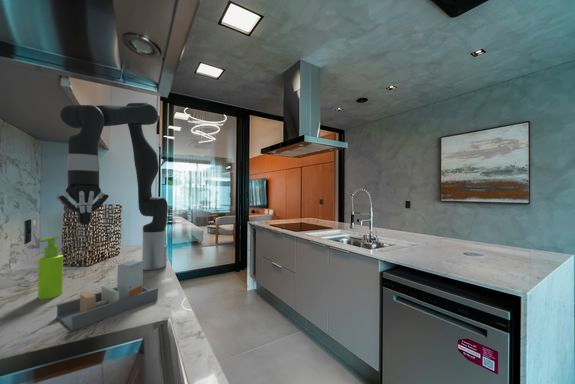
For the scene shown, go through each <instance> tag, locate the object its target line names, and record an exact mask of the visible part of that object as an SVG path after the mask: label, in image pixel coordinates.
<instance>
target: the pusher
mask: <svg viewBox="0 0 575 384" xmlns="http://www.w3.org/2000/svg"><path fill="white" fill-rule="evenodd" d="M113 288H114V287H113ZM113 288H112V287H111V286H109V285H106V284H104V285H101V291H100V292H101V301H100V302H97V303H96V296H95V295H94V294H95V293H92V292H90V291H86V292H83V293H79V298H80V312H81V313H82V312H85V311H88V310H91V309H94V308H97V307H100V306H103V305H106V304H109V303H112V302H115V301H118V300H119V291H117V290H115V289H113Z"/></svg>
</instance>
